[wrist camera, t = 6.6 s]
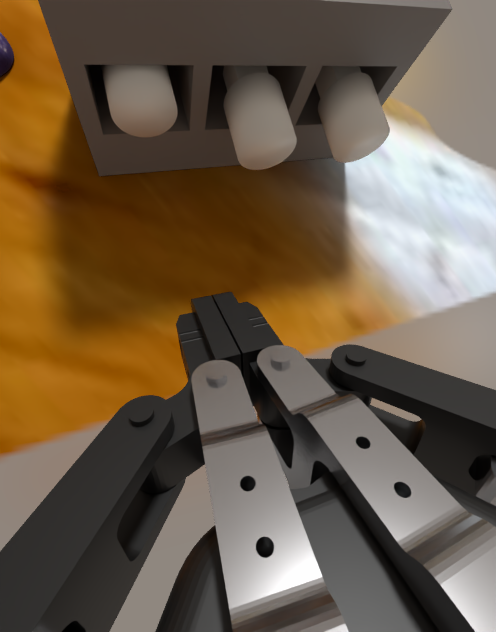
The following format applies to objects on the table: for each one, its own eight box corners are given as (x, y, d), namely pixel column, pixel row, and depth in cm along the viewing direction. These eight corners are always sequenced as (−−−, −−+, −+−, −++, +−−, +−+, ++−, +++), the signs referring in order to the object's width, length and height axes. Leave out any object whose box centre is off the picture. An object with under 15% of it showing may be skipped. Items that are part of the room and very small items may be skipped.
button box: (99, 176, 23) (24, -40, 11) (78, 70, 24) (-6, -215, 13) (344, 156, 28) (462, -4, 17) (315, 70, 29) (405, -132, 18)
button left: (116, 139, 19) (103, 83, 16) (97, 48, 20) (82, -21, 17) (177, 135, 20) (177, 83, 17) (156, 50, 21) (152, -16, 18)
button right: (323, 164, 22) (351, 123, 19) (297, 84, 23) (319, 31, 20) (368, 160, 23) (402, 120, 20) (341, 84, 24) (369, 33, 21)
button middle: (232, 172, 20) (244, 128, 17) (209, 85, 21) (216, 27, 18) (284, 167, 21) (306, 125, 18) (259, 85, 22) (275, 30, 19)
